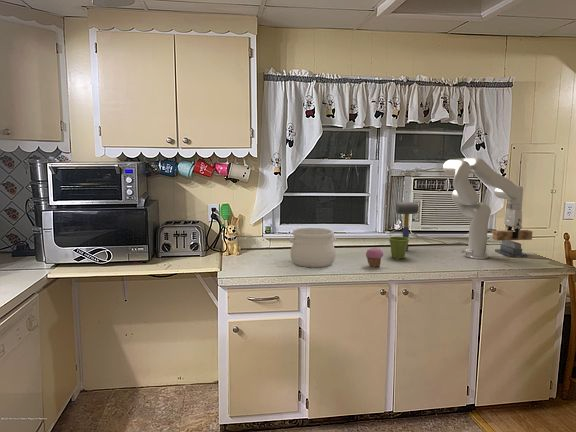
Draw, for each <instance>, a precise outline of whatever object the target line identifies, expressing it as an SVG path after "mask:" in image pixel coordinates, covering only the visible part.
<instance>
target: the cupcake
mask: <svg viewBox="0 0 576 432" xmlns="http://www.w3.org/2000/svg"><path fill="white" fill-rule="evenodd" d="M365 257H366V259H367V264H368V265H369V266H370V267H374V268H376V267H380V266H381V261H382V258H383V257H384V253H383V250H382V249H381V248H378V247H370V248H368V249H367V250H366V253H365Z"/></svg>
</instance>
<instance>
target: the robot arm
mask: <svg viewBox="0 0 576 432" xmlns="http://www.w3.org/2000/svg"><path fill="white" fill-rule="evenodd" d="M442 166H443V167H442V169H443V171H444V174H447V175H451V176H453V181H452V186H453V189H454V190H453V191H452V193H451V199H452V202H453V204H454V205H455V206H456V207H457V209H458V211H460V213H461V214H462V215H463V216H464V217H467V218H472V220H471V221H470V223H469V231H468V232H469V233H468V245H467V247H466V248H465V249H460V250H459V254H464V256H465V257H467V258H471V259H475V260H476V259H477V260H485V259H489V258H490V257H489V255H488V254H487V253H486V252H487V244H488V243H487V242H488V241H487V240H488V230H489V229H488V227H489V220H490V217H491V213H492V210H491V206H490V205H489V204H487V203H485V202H481V201H479V200H480V196H479V194H478V192H477V191H476V190H475V188H474V187H473V185H472V184H471V183H470V181H469V174H470V173H471V174H474V175H475V177H477V178H478V179H479V180H480V181H481V182H482V183H483V184H485V185H487V186H489V187H493V188H494V189H493V195H494V196H495V197H497V199H505V200H507V205H506V206H507V207H506V209H505V213H504V221H503V222H504V225H505V227H506V231H507V230H514V232H513V236H512V238H513V239H514V238H518V232H519V230H522V228H523V225H522V224H523V223H522V222H523V211H522V209H523V198H524V197H523V195H524V187H523V186H522V185H516V184H515V183H514V182H513V181H512V180H510V179H509V178H507V177H505V176H503V175H501V174H499V173H498V172H496V171H495V170H494V169H493V168H492V167H491V166H490V165H489V164H488V163H487V162H486V161H485V160H484V159H483V158H481V157H462V158H453V159H447V160H446V161H445V162H444V164H443V165H442Z"/></svg>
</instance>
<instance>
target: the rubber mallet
mask: <svg viewBox="0 0 576 432" xmlns="http://www.w3.org/2000/svg"><path fill="white" fill-rule="evenodd" d="M395 213H396V214H398V215H404V217H403V218H404V219H403V220H404V221H403V227H402V237H406V238H409V236H410V228H409V220H410V219H409V218H410V215H415V214H417V213H419V203H418V202H415V201H414V202H413V201H402V202H397V203H396V204H395ZM409 239H410V238H409ZM408 249H409V244H408V245H407V249H406V251H408Z"/></svg>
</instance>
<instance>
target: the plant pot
mask: <svg viewBox="0 0 576 432" xmlns="http://www.w3.org/2000/svg"><path fill="white" fill-rule="evenodd" d="M410 240H411V238H406V237H403V236H389V237H388V241H389V245H390V253H391V258H393V259H398V260H400V259H405V257H406V253H407V250H406V249H407V245H408V246H409V241H410Z"/></svg>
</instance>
